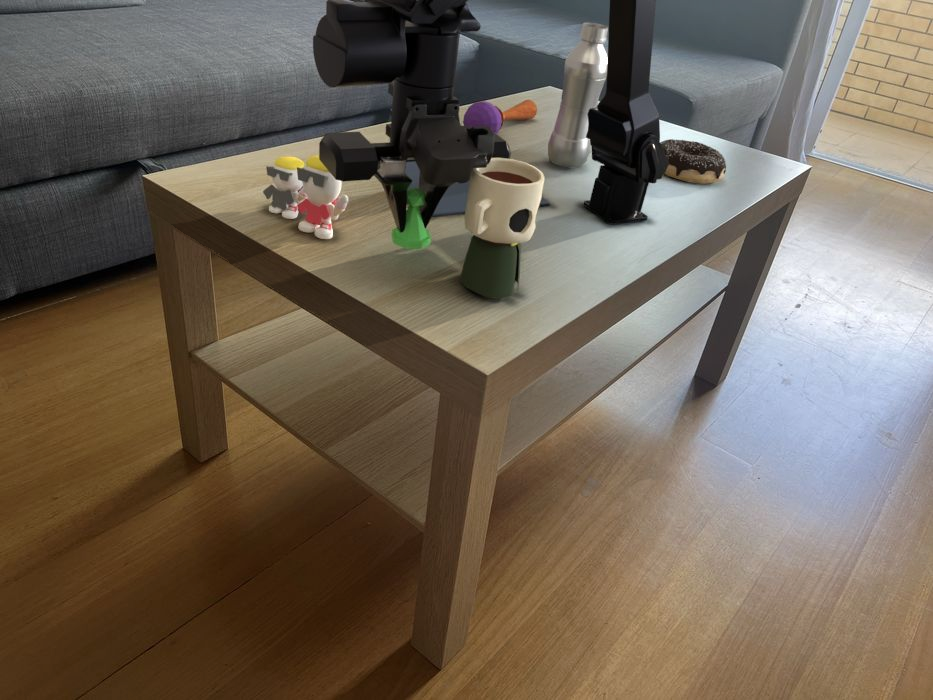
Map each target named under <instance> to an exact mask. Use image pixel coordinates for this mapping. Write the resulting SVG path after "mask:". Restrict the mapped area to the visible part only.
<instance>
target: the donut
mask: <svg viewBox="0 0 933 700" xmlns="http://www.w3.org/2000/svg"><path fill="white" fill-rule="evenodd" d="M660 143H661V146H662V148H663V150H664V153H665V155H666V157H667V160H668V162H669V165H668V167H667V169H666V171H665V173H664V175H665V176H667V177H670V178H673V179H676V180H680V181H682V182H687V183H691V184H692V183H693V184H703V185H704V184H705V185H706V184H711V183H715V182H718V181H720V180H721V179H723V178H724V175H725V174H726V171H727V163H726V159H725V157H724V156H723V154H722V153H721V152H720V151H719V150H717V149H715V148H713V147H711V146H709V145H707V144H705V143H701V142H699V141H694V140H693V141H692V140H691V141H689V140H685V139H673V138H671V139H665V140H662V141H660Z"/></svg>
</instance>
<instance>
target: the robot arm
mask: <svg viewBox="0 0 933 700" xmlns="http://www.w3.org/2000/svg"><path fill="white" fill-rule="evenodd" d="M468 1H469V0H364V1H347V0H326V2H325V3H326V4H325V7H326V8H325V15H323V16H321V18H320V19H319V21H318V23H317V26H316V30H315V35H313V36H312V52H313V53H312V54H313V58H314V63H315V67H316V70H317V73H318V76H319V77H320V79H321V80H322V82H323V83H324V84H325V85H326V86H327V87H328V88H347V87H360V86H377V85H387V84H388V86H387V87H388V88H387V93H388V94H389V95H390V96H392V100H391V101H392V103H391V104H392V105H391V115H390V117H391V118H390V123H386V124H385V136H387V137H388V138H389V142H370V141H369V140H368V139H367V138H366V137H365V136H364V135H363V133H361V131H341V132H339V131H338V132H337V131H336V132H325V134H324V135H323V137H322V138H321V139H320V141H319V144H318V155H319V160H320V161H321V162H322V163H323V165H324V166H325V167H326V168H327V169H328V171H329V172H330V173H331V174H332V176H333V177H334V178H335V179H336V180H340V181H341V182H357V181H370V180H371V179H372V178H373V177H375V178H376V179H377V181H378V182H379V183H380V185H381V187H382V188H383V191H384V193H385V196H386V199H387V202H388V205H389V208H390V212H391V214H392V215H391V216H392V218H393V220H394V223H395V226H396V227H395V228H397V229H398V230H399V231H400V233H402V232H403V231H404V230H405V224H406V210H407V206H408V204H407V189H408V187H409V186H410V184H411V183H412V180H411V179H410V178H409V177H408V176H407V175H406V174H405V169H406V162H414V161H415V162H416V164H417V166H418V168H419V170H420V173H419V189H418V190H420V191H422V192H424V193H425V199H424V205H421V206H419V210H420V213H421V217H422V220H423V224H424V227H425V230H427V227H428V225H429V223H430V221H431V219H432V217H433V216H432V215H433V213H434V211H435V209H436V208H437V206H438V204H439V202H440V200H441V198H442V197H443V195H444V193H445V192H446V190H447V189H448V188H449V186H451V185H452V184H454V183H456V182H458V183H466V182H468V181H469V179H470V176H471V173H472V171H473V168H485V167H487V164H489V163H490V160H491V158H506V159H511V157H512V156H511V155H512V151H511V148H510V144H509V143H508V142H507V141H506V140H505V139H504V138H503V137H501V136H500V135H498V133H497V134H495V133H494V132H493V131H492V129H491V128H490V127H489V126H477V127H470V126H464V125H461V120H460V104H459V103H460V99H458V97H456V96H454V90H455V82H456V81H455V80H456V72H457V63H458V56H459V45H460V36H461V33H469V32H479V31H480V30H481V23H480V22H479V21H478V20H477V18H476V17H475V16H474V15H473V14H472V12H471V10H470V9H469V6H468V4H467V2H468ZM656 6H657V0H609V13H608V14H609V15H608V35H607V36H608V37H607V40H608V41H607V58H608V61H607V76H606V88H605V93H604V95H603V96H602V98H601V99H600V100H599V101H598V104H597V106H596V107H594V108H590V109H589V111H588V124H589V125H588V132H587V135H586V138H588V139H590V144H591V160H592V161H594V162H597V163H600V164H602V165H600V167H599V171H598V174H597V177H595V179H594V183H593V187H592V191H591V195H590V199H588V200H583V206H584V207H586V208H587V209H588V210H590V211H591V212H592V213H594V214H595V215H597V216H598V217H599V218H601V219H602V220H603V221H605V222H606V223H607V224H610V225H617V224H624V223H625V224H626V223H634V222H645V221H648V218H649V216H648V215H647V214H645V213H644V212H643V211H642V208H643V205H644V202H645V199H646V194H647V191H648V187H649V184H656V183H657V181H658V180H661V179H663V177H664V175H665V174H664V173H665V171H666V169H667V167H668V165H669V162H668V160H667V157H666V155H665V153H664V150H663V148H662V146H661V127H660V114H659V112H658V110H657V109H658V108H656V105H655V102H654V101H653V98H652V96H651V95H650V79H651V67H652V65H651V64H652V53H653V42H654V38H653V37H654V30H655V17H656Z"/></svg>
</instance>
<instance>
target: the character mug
mask: <svg viewBox="0 0 933 700" xmlns="http://www.w3.org/2000/svg"><path fill="white" fill-rule="evenodd" d="M545 178H546V177H545V175H544V173H543V171H541V170H540V169H538V168H537V167H536V166H534V165H532V164H529V163H527V162H525V161H521V160H517V159H513V158H510V159H506V158H491V160H490V163H489V164H487V167H485V168H473V171H472V173H471V176H470V183H469V190H468V197H467V205H466V212H465V213H464V225H465V229H466V230H467V231H468V232H469V233H470V234H471V235H472V236H471V238H470V242H469V244H468V248H467V251H466V254H465V258H464V262H463V266H462V269H461V274H460V278H459V281H460V282H461V283H462V285H463V286H464V287H466V288H467V289H470V290H471V291H472V292H474V293H477V294H478V295H480V296H483V297H485V298H486V299H504V298H505V299H506V298H509V297H512V296H513V295H514V289H515V283H516V285H517V286H516V292H518V291H519V290H520V289H519V287H520V279H521V278H520V276H521V257H522V255H521V254H522V244H523V243H526V242H528V241H530V240H531V239H532V237H533V235H534V232H535V230H536V218H537V213H538V210H539V207H540V206H539V204H540V201H541V197H542V196H543V189H544V184H545Z"/></svg>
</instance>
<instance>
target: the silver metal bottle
mask: <svg viewBox="0 0 933 700" xmlns="http://www.w3.org/2000/svg"><path fill="white" fill-rule="evenodd" d="M608 33H609V26H606V25H604V24H601V23H596V22H583V23H582V25H581V30H580V33H579V39H580V41H579V43H577V45H576V46H575V47H574V48H573V49H572V50H571V51H570V52H569V53H568V55H567V57H566V59H565V62H564V69H563V70H564V71H563V81H562V82H563V84H562V92H561V98H560V99H561V101H560V105H559V110H558V113H557V116H556V121H555V124H554V128H553V130H552V132H551V134H550V137H549V140H548V143H547V156H548V159H549V162H551V163H553V164H555V165H557V166H559V167H565V168H570V169H573V168H575V169H576V168H580V167H582V166H583V165H584V164H586V163H587V161H588V158H589V156H590V153H591V149H592V147H591V144H590V139H588V138H586V135H587V132H588V125H589V124H588V111H589V109H590V108H594V107H596V106H597V105H598V103H599V101H600V100H599V99H600V96H601V94H602V90H603V88H604V85H605V82H606V81H607V61H608V53H607V52H606V50H605V46H604V43H606V42H607V40H608V37H607V36H608Z"/></svg>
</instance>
